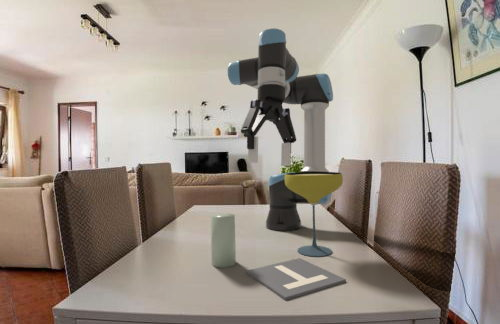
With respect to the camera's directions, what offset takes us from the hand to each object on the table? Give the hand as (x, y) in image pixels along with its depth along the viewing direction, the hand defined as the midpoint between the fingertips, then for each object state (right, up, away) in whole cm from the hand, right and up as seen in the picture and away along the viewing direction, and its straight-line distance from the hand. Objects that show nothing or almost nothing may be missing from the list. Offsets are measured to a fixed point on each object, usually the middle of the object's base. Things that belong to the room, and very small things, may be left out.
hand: (270, 164), depth 82 cm
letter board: (+6, -29, -4) cm, 30 cm away
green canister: (-13, -29, +7) cm, 33 cm away
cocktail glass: (+15, -28, +16) cm, 36 cm away
